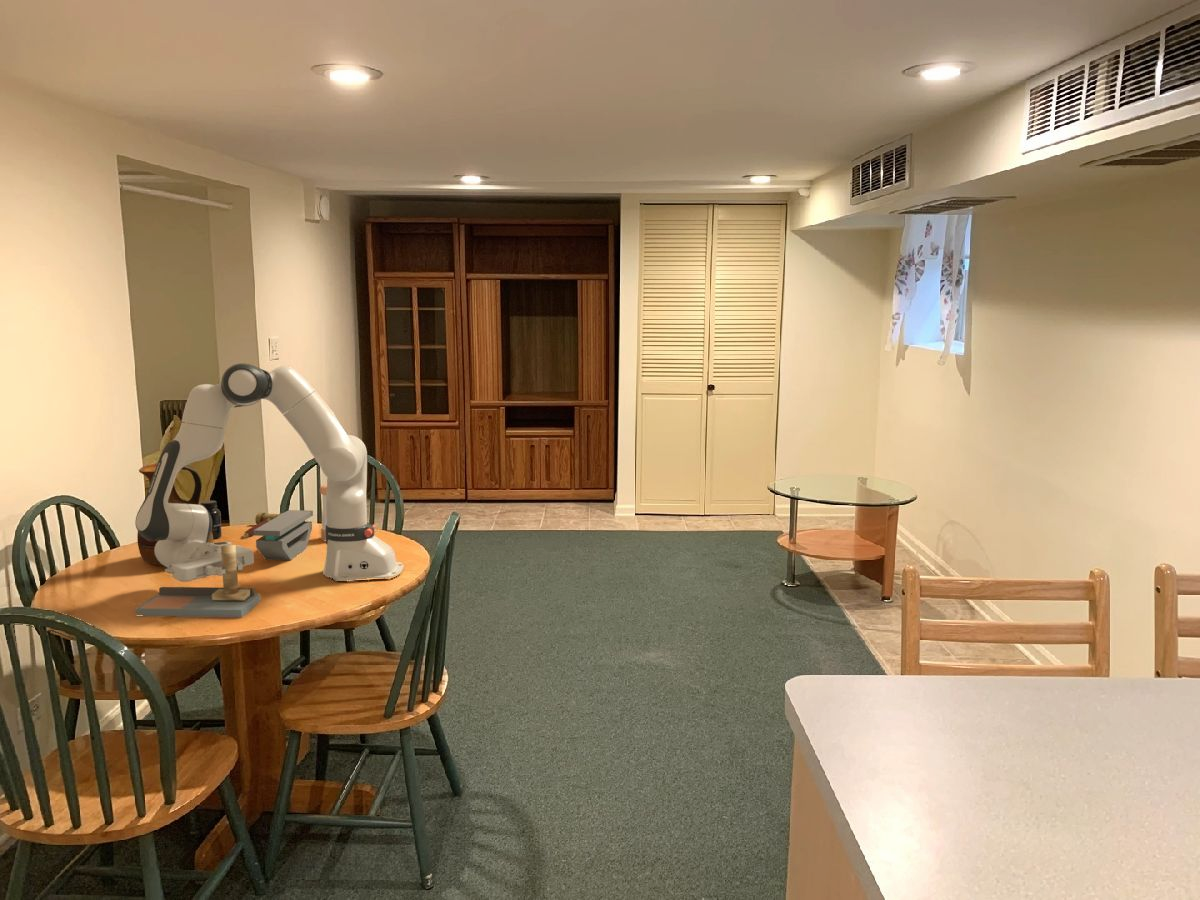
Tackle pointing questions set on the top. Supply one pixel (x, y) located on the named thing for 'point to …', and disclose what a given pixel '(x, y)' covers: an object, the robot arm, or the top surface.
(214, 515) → the supplement bottle
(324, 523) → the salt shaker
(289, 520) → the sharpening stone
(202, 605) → the board
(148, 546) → the ceramic pitcher
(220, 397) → the robot arm
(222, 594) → the beige post stand
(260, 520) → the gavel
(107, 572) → the top surface
